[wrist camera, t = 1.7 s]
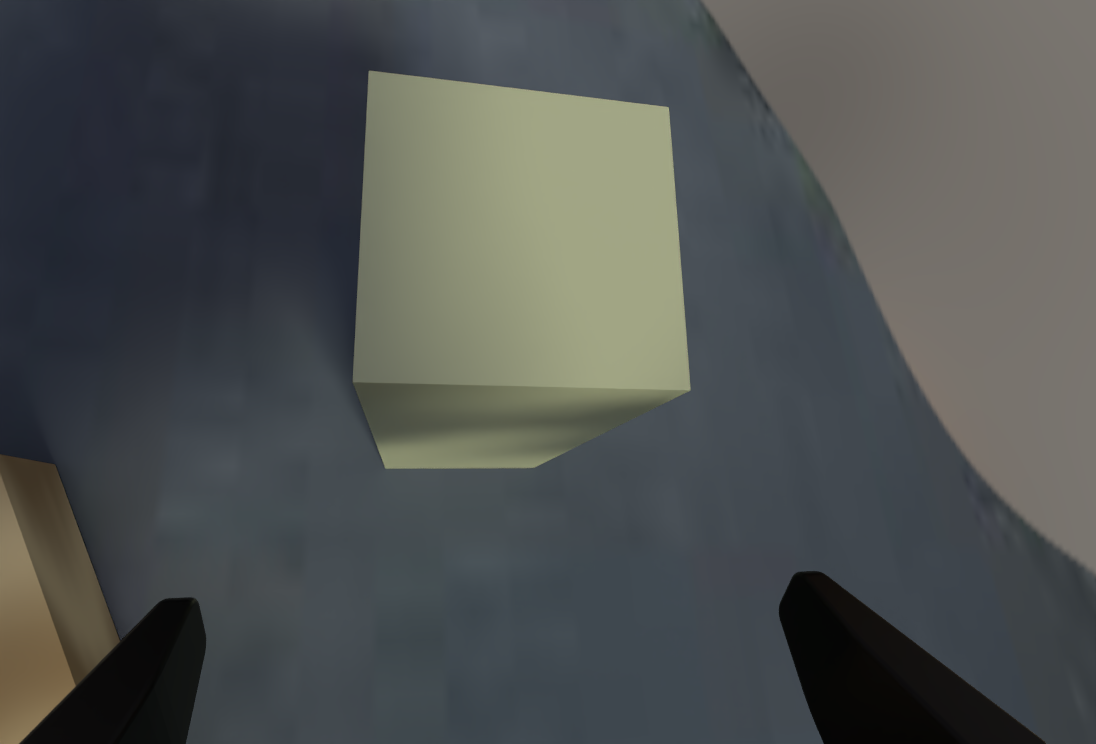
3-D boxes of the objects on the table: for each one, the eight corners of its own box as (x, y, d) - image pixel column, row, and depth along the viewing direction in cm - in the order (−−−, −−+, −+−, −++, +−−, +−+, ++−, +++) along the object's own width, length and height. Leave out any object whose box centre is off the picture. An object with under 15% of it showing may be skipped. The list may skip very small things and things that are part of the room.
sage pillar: (533, 468, 22) (690, 390, 10) (385, 468, 21) (352, 382, 9) (531, 331, 23) (668, 107, 11) (390, 325, 22) (369, 70, 10)
